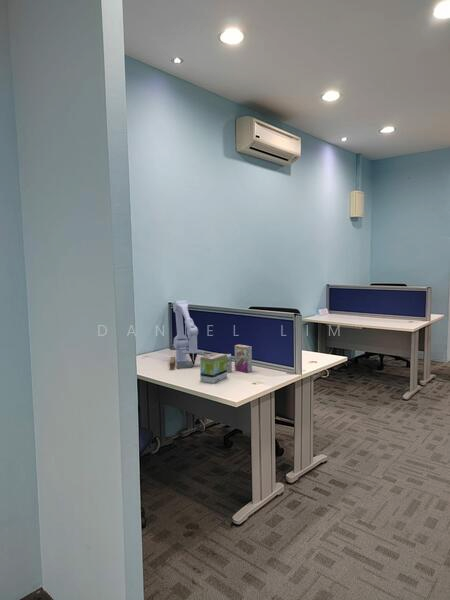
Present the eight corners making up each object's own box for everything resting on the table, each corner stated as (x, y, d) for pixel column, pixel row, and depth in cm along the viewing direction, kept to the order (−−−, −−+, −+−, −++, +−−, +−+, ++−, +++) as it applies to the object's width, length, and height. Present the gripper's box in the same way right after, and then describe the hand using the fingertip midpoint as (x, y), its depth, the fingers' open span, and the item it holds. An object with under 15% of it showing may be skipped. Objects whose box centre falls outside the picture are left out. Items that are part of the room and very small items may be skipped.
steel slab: (177, 365, 272) (177, 361, 271) (191, 365, 273) (191, 360, 272) (177, 369, 262) (177, 365, 261) (192, 368, 263) (192, 364, 262)
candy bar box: (234, 370, 256) (233, 345, 254) (239, 368, 259) (239, 344, 258) (247, 372, 248) (247, 347, 247) (252, 371, 252) (252, 346, 250)
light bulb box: (231, 369, 256) (231, 353, 256) (231, 372, 250) (230, 356, 249) (215, 369, 258) (215, 353, 257) (214, 372, 251) (214, 356, 250)
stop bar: (171, 364, 275) (170, 357, 274) (175, 363, 275) (175, 356, 274) (169, 370, 259) (169, 362, 258) (174, 369, 259) (174, 362, 259)
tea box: (214, 383, 226) (213, 358, 225) (200, 381, 232) (199, 357, 230) (227, 377, 239) (227, 353, 238) (214, 375, 244) (213, 352, 243)
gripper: (182, 346, 262) (182, 366, 263) (203, 345, 263) (204, 365, 265) (182, 344, 269) (182, 363, 270) (203, 343, 270) (203, 362, 272)
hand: (193, 364), depth 268 cm, fingers closed
